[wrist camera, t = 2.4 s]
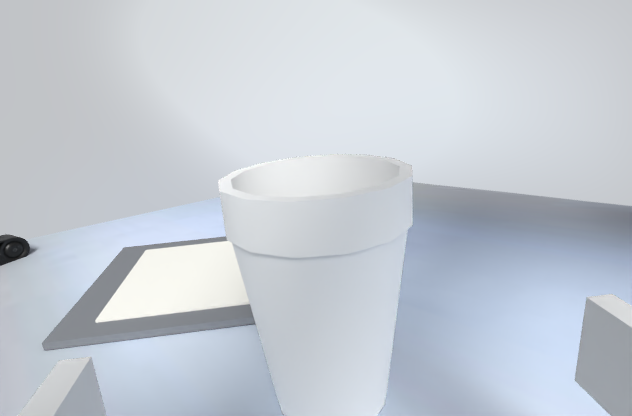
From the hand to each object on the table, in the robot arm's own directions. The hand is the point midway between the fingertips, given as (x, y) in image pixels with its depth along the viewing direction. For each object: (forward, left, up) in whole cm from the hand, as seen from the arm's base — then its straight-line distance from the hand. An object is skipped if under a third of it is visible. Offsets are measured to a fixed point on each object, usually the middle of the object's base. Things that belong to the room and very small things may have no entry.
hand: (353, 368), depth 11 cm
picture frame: (+8, -28, -10) cm, 30 cm away
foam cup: (0, -11, -10) cm, 15 cm away
